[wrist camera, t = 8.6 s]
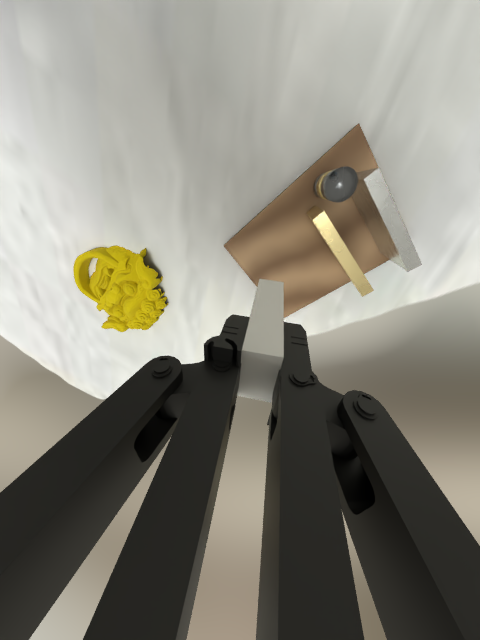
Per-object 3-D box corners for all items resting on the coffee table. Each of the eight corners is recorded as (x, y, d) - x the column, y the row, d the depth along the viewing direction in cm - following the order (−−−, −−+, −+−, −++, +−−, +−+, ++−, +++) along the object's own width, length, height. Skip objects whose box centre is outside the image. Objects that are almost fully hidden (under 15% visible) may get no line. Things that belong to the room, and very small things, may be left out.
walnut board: (225, 244, 30) (223, 245, 29) (355, 125, 21) (358, 123, 20) (282, 315, 35) (282, 318, 34) (409, 244, 26) (413, 246, 25)
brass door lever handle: (295, 196, 24) (299, 200, 18) (329, 166, 22) (344, 160, 16) (346, 274, 28) (362, 296, 22) (379, 254, 26) (405, 273, 20)
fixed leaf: (309, 184, 23) (319, 183, 16) (345, 153, 21) (374, 136, 14) (356, 266, 27) (381, 294, 20) (390, 246, 25) (431, 270, 18)
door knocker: (72, 244, 35) (49, 251, 32) (156, 247, 32) (140, 254, 29) (108, 322, 44) (93, 334, 41) (176, 329, 42) (166, 342, 38)
